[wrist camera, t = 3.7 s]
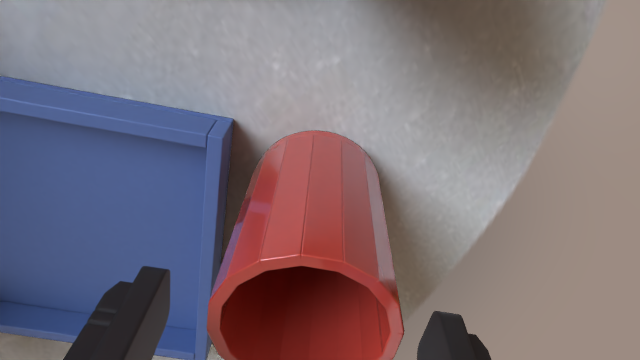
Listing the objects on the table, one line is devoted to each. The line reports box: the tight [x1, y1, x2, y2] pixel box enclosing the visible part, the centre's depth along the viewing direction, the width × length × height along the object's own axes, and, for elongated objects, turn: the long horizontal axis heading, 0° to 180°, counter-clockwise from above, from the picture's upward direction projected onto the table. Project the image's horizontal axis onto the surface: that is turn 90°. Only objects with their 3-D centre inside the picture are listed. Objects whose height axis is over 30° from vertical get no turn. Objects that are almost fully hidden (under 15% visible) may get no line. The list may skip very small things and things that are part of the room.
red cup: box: [206, 131, 404, 360], centre depth 16 cm, size 6×6×8 cm
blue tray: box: [0, 76, 234, 360], centre depth 20 cm, size 13×13×2 cm
